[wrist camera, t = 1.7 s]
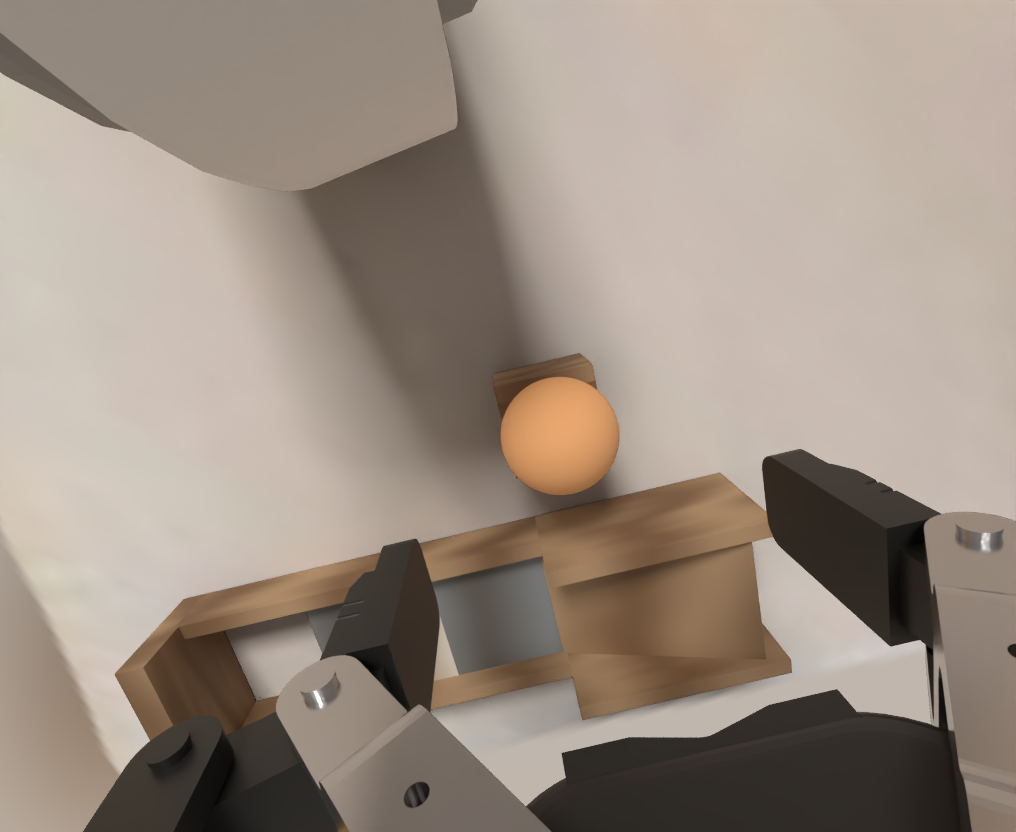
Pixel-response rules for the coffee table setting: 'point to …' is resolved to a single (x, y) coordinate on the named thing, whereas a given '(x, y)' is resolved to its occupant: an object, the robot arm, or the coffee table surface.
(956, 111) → the coffee table surface
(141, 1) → the alarm clock
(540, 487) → the ball
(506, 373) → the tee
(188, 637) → the lane
